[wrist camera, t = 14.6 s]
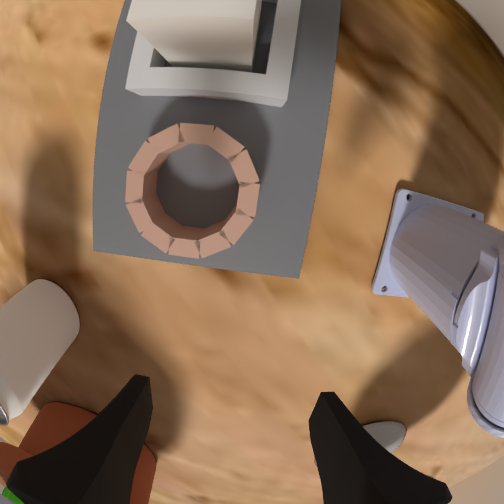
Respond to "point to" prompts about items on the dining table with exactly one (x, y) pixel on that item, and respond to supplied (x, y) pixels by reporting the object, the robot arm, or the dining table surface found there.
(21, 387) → the can
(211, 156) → the socket board
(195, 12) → the square peg
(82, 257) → the dining table surface
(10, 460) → the potted cactus
